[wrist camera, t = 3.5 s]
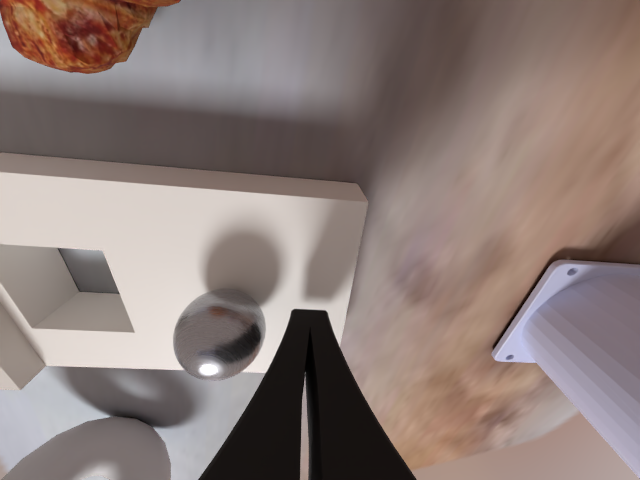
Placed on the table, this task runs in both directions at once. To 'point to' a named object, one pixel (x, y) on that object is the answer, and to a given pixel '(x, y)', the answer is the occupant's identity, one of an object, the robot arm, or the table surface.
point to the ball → (219, 334)
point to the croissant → (77, 30)
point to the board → (161, 257)
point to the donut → (99, 453)
